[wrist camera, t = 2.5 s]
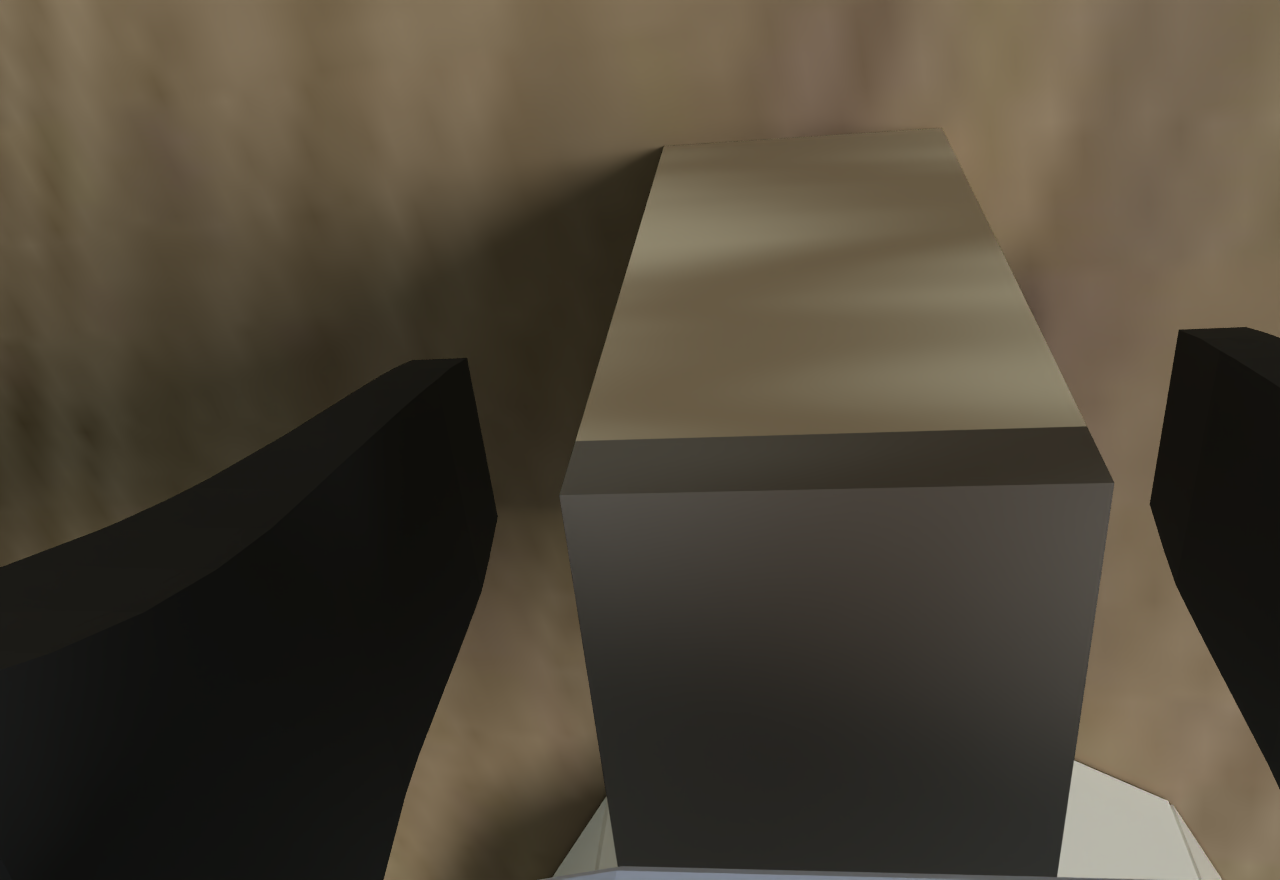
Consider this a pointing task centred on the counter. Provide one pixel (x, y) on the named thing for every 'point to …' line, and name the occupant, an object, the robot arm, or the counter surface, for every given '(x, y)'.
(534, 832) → the counter surface
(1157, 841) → the dish
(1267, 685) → the robot arm
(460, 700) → the counter surface
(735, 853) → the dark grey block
